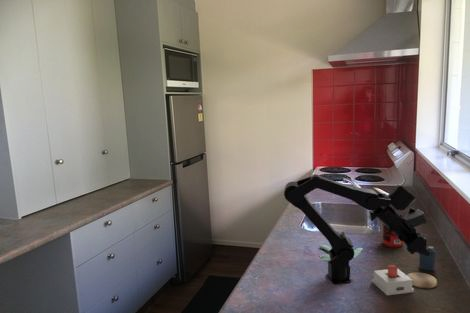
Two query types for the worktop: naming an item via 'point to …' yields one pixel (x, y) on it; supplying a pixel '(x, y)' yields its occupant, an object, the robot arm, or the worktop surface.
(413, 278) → the coaster
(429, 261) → the vaping device
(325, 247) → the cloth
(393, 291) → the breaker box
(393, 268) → the button
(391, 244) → the canned food
